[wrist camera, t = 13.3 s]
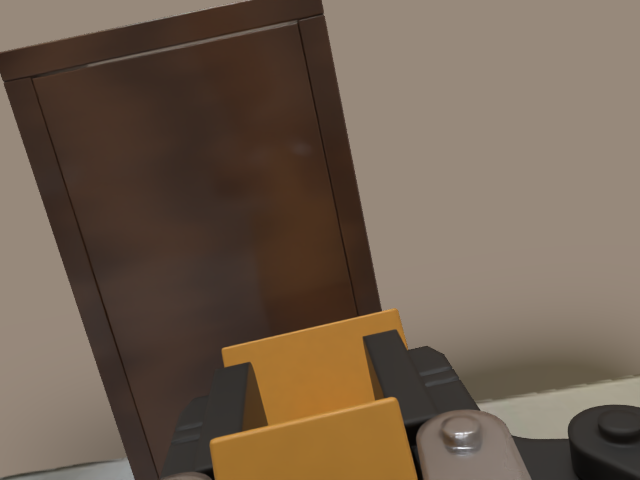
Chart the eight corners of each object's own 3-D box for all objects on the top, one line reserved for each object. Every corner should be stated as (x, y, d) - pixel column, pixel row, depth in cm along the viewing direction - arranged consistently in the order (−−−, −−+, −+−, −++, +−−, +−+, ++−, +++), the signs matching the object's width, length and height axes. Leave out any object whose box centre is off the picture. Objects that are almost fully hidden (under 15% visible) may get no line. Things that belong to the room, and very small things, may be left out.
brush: (111, 703, 7) (67, 273, 8) (280, 491, 23) (257, 366, 25) (583, 590, 7) (458, 185, 8) (414, 460, 23) (382, 336, 25)
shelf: (189, 647, 33) (-8, 53, 25) (207, 531, 41) (65, 64, 34) (435, 588, 33) (318, -16, 25) (402, 485, 42) (307, 13, 34)
